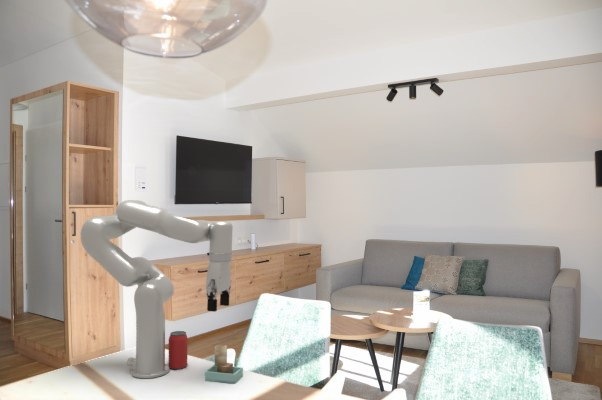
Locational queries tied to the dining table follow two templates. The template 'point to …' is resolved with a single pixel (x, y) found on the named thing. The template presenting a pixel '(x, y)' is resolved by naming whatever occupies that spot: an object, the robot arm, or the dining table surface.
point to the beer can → (178, 350)
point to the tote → (223, 375)
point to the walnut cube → (225, 368)
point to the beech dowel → (220, 355)
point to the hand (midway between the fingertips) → (218, 308)
